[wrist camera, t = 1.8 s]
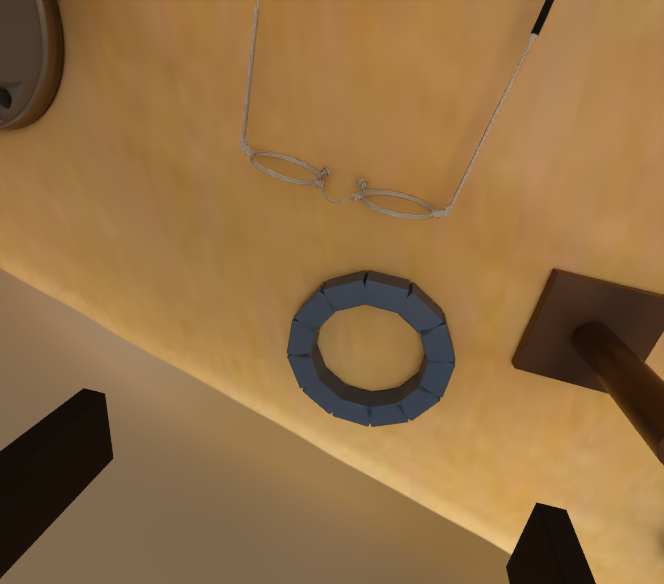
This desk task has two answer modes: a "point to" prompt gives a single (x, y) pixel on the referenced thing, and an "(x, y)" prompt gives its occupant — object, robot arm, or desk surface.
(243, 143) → the eyeglasses
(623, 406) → the stand
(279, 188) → the desk surface
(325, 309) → the dark blue segmented ring
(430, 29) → the desk surface
